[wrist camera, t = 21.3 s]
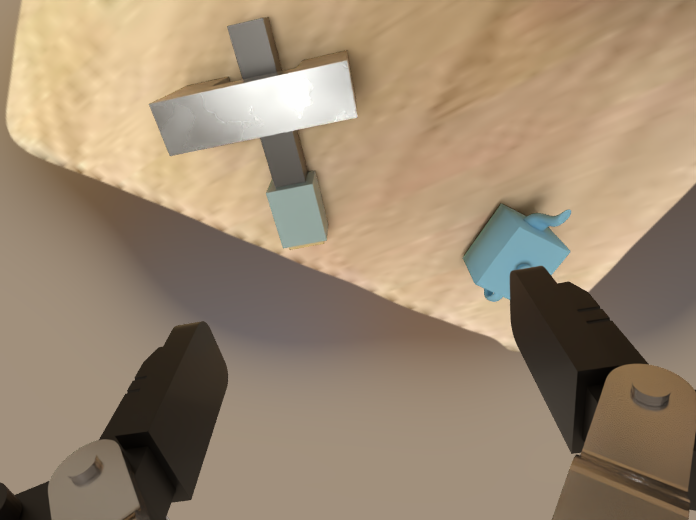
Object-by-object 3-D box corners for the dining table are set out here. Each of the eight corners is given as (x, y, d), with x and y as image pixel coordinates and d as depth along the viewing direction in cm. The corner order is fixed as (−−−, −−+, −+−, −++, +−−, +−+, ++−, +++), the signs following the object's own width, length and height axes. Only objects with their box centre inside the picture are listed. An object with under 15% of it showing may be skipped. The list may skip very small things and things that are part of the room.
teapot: (518, 172, 45) (547, 199, 38) (565, 197, 46) (601, 227, 40) (453, 264, 50) (469, 302, 44) (497, 284, 52) (519, 324, 45)
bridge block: (347, 50, 39) (347, 60, 32) (355, 96, 41) (357, 117, 33) (186, 85, 41) (148, 104, 33) (202, 129, 43) (169, 156, 35)
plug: (226, 26, 39) (214, 28, 35) (276, 15, 38) (269, 15, 35) (289, 235, 48) (284, 253, 45) (329, 228, 48) (328, 245, 45)
